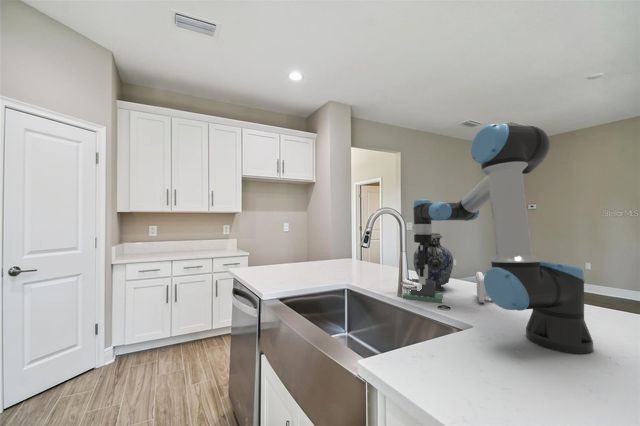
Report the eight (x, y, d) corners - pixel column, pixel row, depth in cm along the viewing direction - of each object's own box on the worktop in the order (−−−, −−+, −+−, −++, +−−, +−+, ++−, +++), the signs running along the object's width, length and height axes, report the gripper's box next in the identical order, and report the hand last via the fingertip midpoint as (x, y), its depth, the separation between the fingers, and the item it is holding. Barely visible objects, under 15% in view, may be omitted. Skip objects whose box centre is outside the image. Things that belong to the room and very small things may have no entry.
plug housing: (435, 294, 129) (435, 280, 129) (434, 297, 124) (434, 283, 124) (412, 291, 133) (412, 278, 134) (410, 294, 128) (410, 281, 128)
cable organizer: (508, 308, 114) (507, 279, 115) (478, 304, 119) (477, 276, 119) (502, 298, 128) (502, 272, 128) (475, 295, 133) (475, 270, 133)
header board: (441, 303, 121) (441, 291, 121) (402, 298, 127) (402, 287, 127) (442, 297, 130) (442, 286, 130) (406, 293, 136) (406, 282, 137)
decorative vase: (456, 295, 131) (455, 234, 132) (414, 293, 137) (413, 234, 138) (450, 285, 152) (449, 232, 152) (413, 283, 157) (412, 232, 158)
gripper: (417, 232, 142) (417, 275, 141) (410, 234, 119) (411, 286, 118) (433, 232, 139) (434, 277, 138) (429, 235, 116) (430, 287, 115)
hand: (423, 281), depth 128 cm, fingers open, 13 cm apart
